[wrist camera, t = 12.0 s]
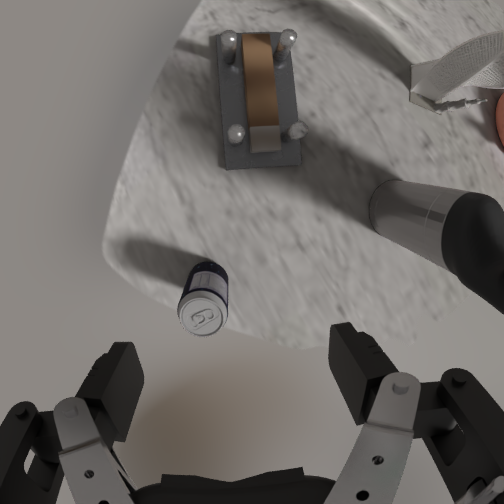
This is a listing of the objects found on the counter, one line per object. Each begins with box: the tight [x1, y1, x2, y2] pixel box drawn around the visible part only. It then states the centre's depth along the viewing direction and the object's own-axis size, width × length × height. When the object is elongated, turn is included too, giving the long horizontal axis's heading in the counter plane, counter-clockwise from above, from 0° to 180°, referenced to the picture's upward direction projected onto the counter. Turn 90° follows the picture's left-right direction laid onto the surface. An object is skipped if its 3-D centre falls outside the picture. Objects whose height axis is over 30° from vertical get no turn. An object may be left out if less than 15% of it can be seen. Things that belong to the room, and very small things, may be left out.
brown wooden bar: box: [241, 33, 281, 153], centre depth 32 cm, size 16×4×4 cm, turn 5°
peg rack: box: [216, 29, 308, 170], centre depth 31 cm, size 10×20×8 cm, turn 4°
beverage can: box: [177, 262, 228, 337], centre depth 36 cm, size 6×6×12 cm
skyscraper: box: [410, 30, 504, 115], centre depth 22 cm, size 8×8×28 cm
